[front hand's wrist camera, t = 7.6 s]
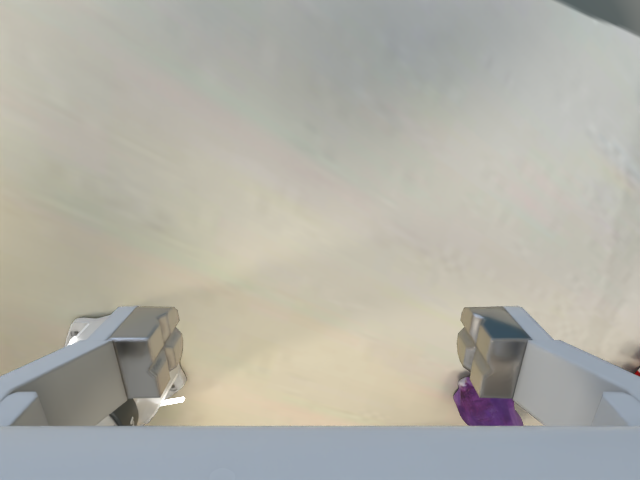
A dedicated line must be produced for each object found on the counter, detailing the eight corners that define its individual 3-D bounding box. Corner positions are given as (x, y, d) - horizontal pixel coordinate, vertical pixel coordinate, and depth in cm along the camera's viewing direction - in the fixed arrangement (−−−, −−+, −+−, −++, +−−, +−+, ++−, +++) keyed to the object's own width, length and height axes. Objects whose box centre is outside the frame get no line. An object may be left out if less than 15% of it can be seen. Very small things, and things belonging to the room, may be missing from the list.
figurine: (512, 412, 59) (571, 508, 45) (450, 416, 60) (490, 512, 46) (519, 366, 56) (585, 456, 42) (453, 371, 56) (497, 461, 42)
